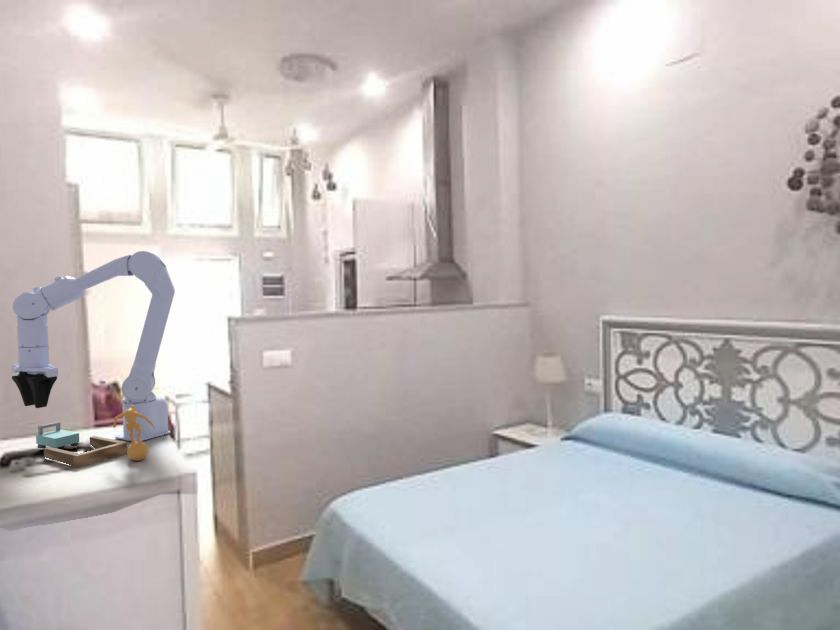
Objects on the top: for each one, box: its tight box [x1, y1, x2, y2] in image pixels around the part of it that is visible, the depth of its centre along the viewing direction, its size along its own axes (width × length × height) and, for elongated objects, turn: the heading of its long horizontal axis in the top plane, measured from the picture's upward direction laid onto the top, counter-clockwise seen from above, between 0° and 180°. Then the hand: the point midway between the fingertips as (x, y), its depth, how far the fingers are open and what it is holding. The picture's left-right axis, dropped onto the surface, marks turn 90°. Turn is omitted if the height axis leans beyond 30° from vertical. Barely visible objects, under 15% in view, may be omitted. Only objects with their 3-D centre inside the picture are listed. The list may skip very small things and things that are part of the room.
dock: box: [43, 435, 128, 469], centre depth 122 cm, size 11×11×2 cm
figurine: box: [112, 405, 154, 462], centre depth 118 cm, size 8×6×12 cm
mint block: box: [35, 421, 80, 449], centre depth 127 cm, size 5×7×5 cm
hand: (35, 406), depth 130 cm, fingers open, 4 cm apart
